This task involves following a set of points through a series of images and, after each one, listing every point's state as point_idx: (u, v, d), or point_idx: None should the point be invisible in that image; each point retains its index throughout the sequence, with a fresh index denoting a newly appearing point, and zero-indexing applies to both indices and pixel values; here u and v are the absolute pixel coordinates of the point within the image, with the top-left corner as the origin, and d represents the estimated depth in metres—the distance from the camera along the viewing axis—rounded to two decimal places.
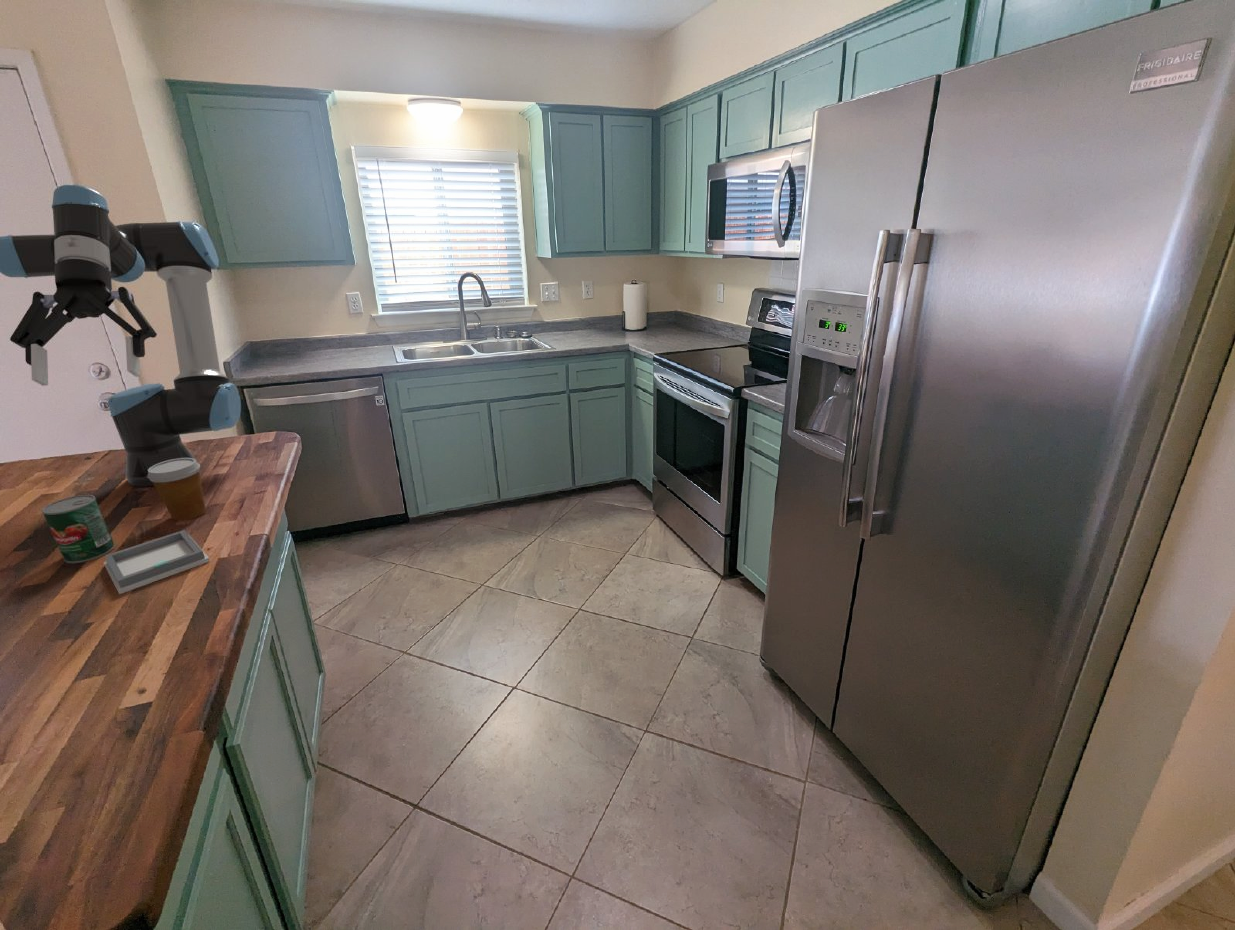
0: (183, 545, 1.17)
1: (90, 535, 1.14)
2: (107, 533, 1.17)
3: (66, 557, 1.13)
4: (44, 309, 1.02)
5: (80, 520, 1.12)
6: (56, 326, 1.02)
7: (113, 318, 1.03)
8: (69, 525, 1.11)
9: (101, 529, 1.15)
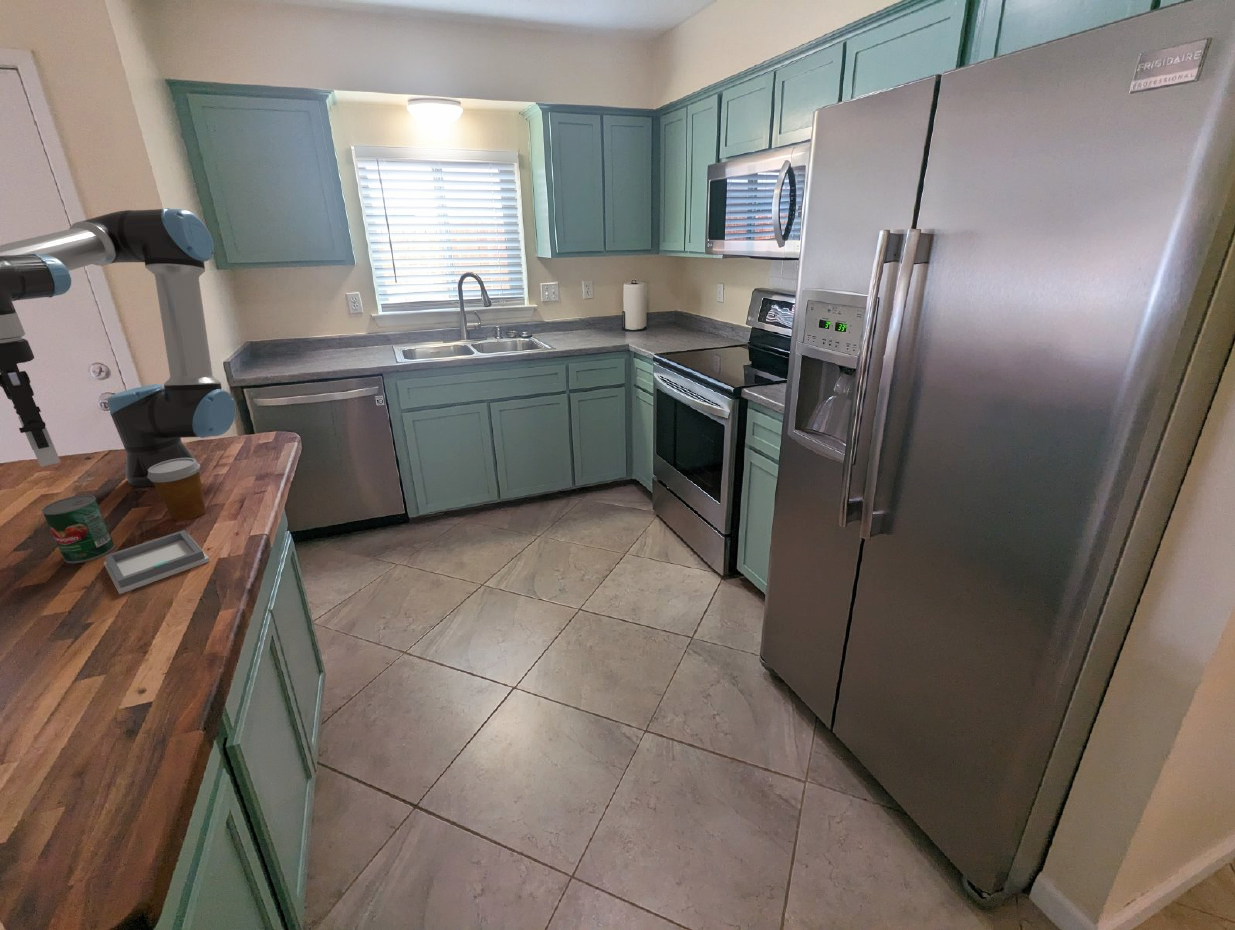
0: (183, 545, 1.17)
1: (90, 535, 1.14)
2: (107, 533, 1.17)
3: (66, 557, 1.13)
4: None
5: (80, 520, 1.12)
6: None
7: (16, 408, 1.01)
8: (69, 525, 1.11)
9: (101, 529, 1.15)
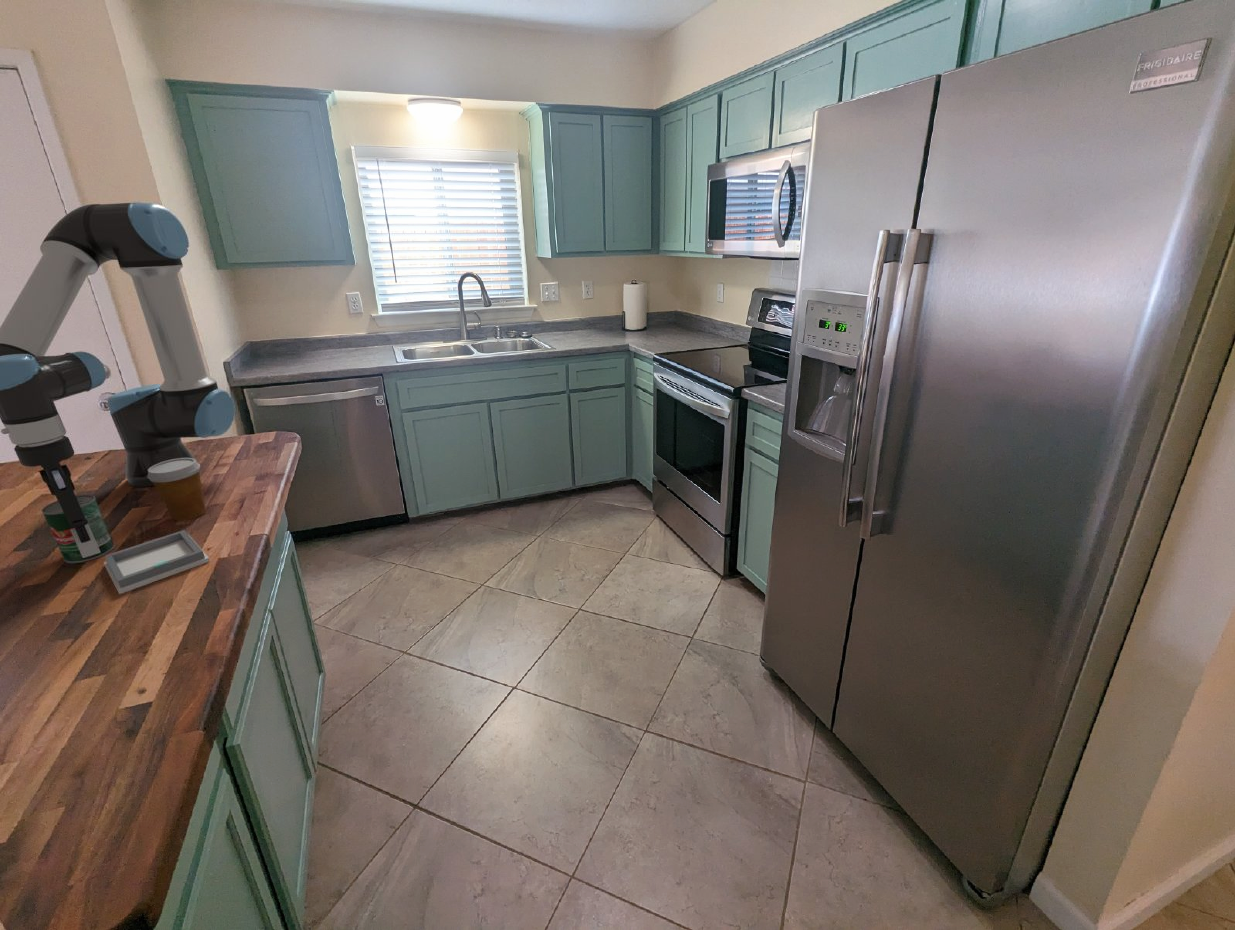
0: (183, 545, 1.17)
1: None
2: (107, 533, 1.17)
3: (66, 557, 1.13)
4: None
5: None
6: None
7: (60, 504, 1.09)
8: None
9: (101, 529, 1.15)
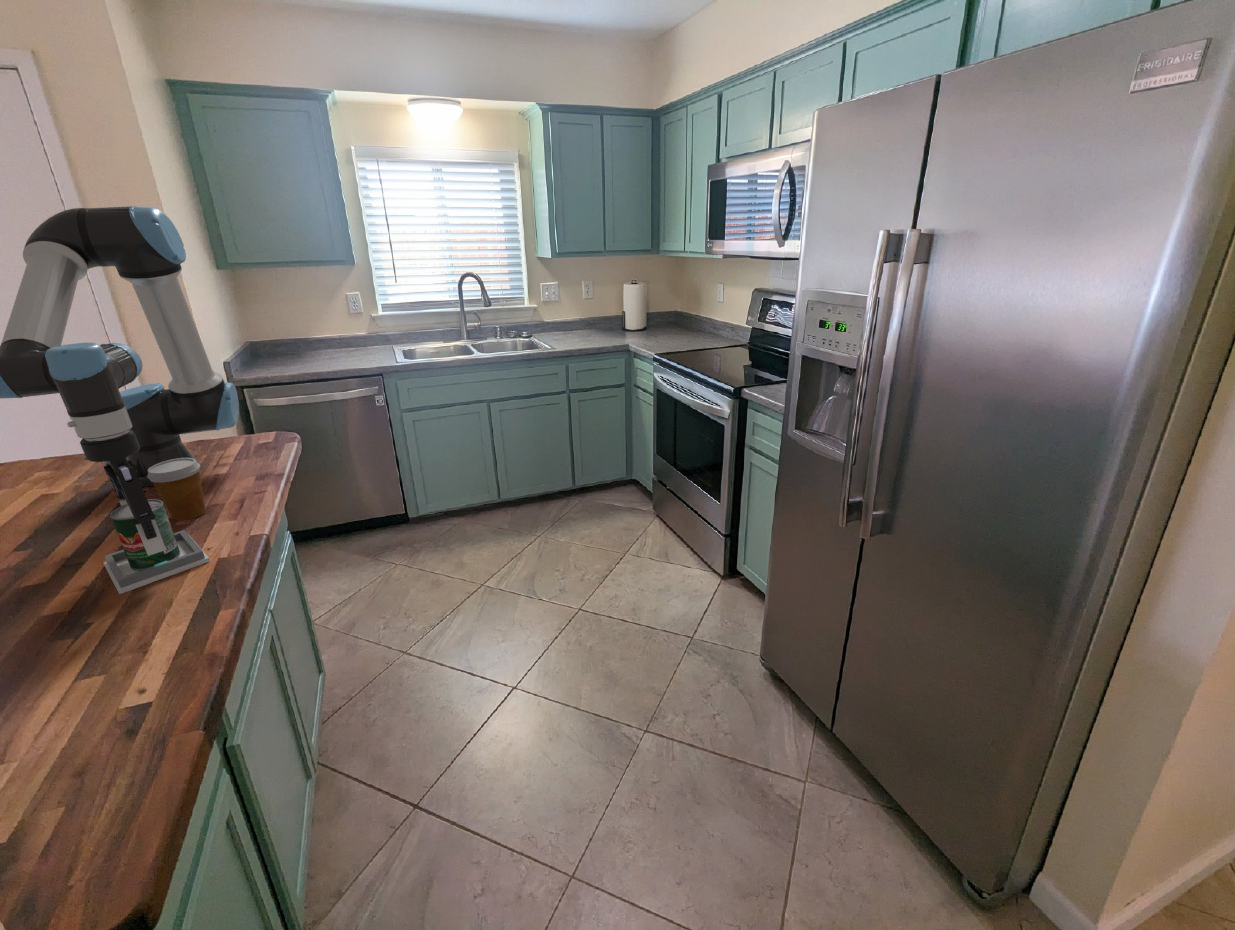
0: (183, 545, 1.17)
1: None
2: (174, 539, 1.12)
3: (133, 564, 1.08)
4: None
5: None
6: None
7: (126, 500, 1.03)
8: None
9: (168, 534, 1.11)
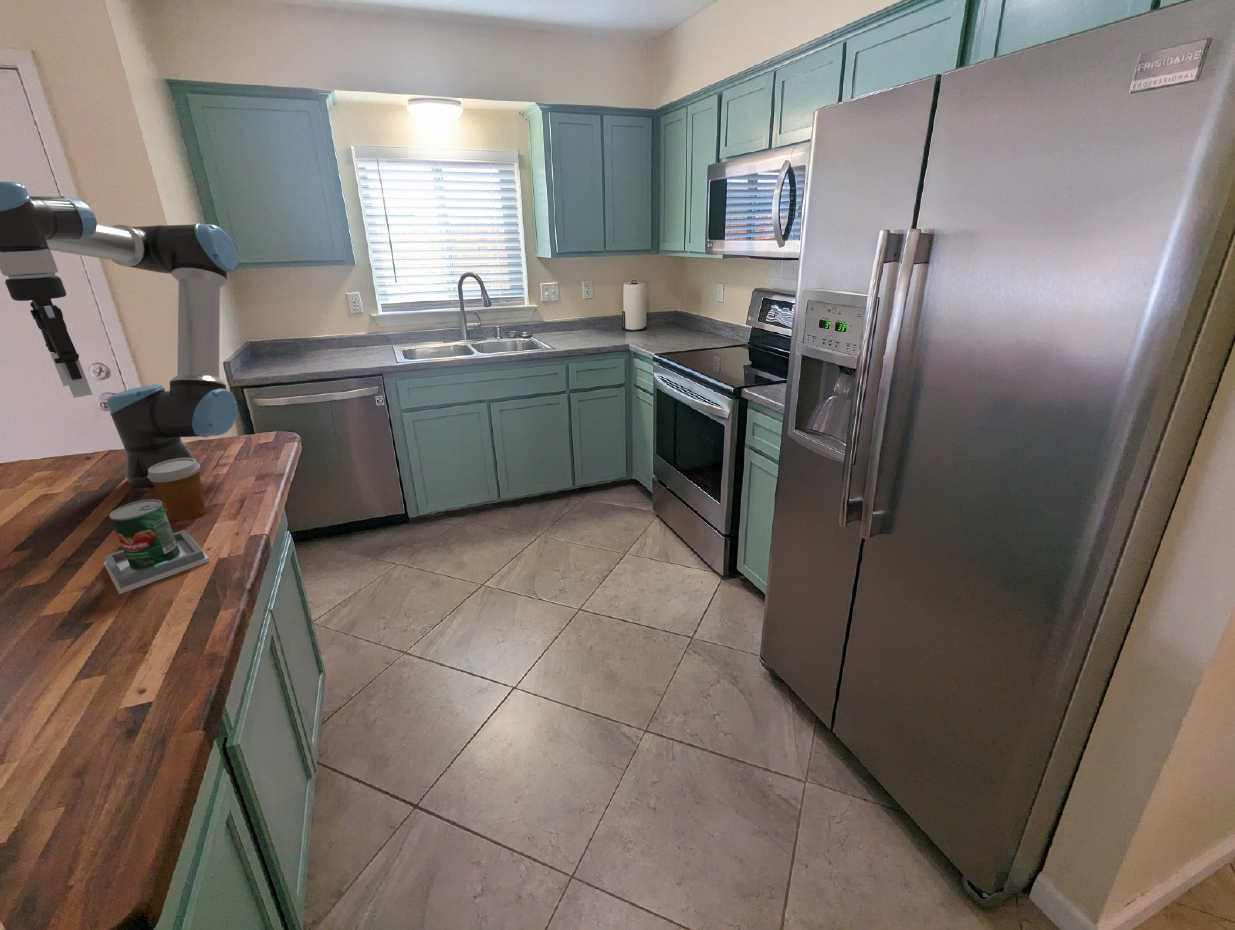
0: (183, 545, 1.17)
1: (158, 541, 1.09)
2: (174, 539, 1.12)
3: (134, 565, 1.08)
4: None
5: (149, 525, 1.07)
6: None
7: (51, 340, 1.06)
8: (138, 531, 1.06)
9: (168, 534, 1.11)
